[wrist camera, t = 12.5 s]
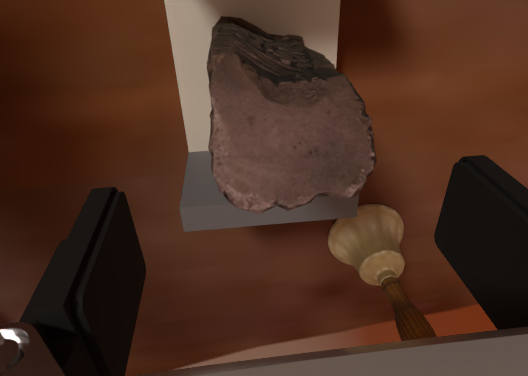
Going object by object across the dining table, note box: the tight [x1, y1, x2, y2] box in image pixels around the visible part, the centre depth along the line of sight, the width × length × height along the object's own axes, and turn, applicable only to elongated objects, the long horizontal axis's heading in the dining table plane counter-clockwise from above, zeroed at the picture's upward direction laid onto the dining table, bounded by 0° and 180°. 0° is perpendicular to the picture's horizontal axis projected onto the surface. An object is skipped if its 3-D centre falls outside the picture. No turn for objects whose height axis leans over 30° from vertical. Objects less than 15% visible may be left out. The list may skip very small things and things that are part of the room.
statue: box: [206, 16, 377, 214], centre depth 19 cm, size 7×7×20 cm
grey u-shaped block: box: [164, 0, 359, 232], centre depth 25 cm, size 20×12×10 cm, turn 2°
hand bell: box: [328, 204, 437, 341], centre depth 34 cm, size 8×8×16 cm
